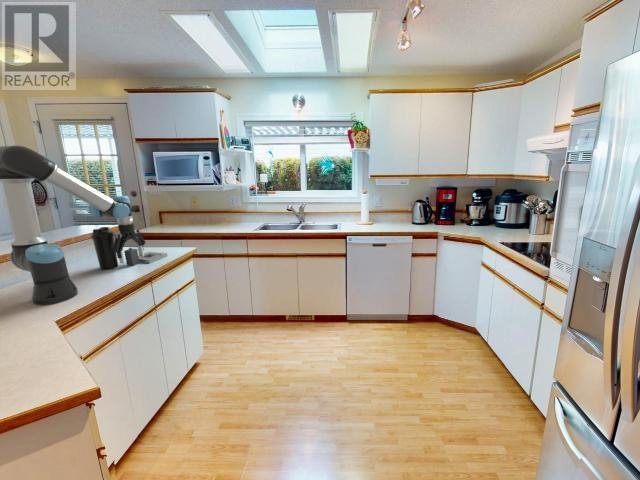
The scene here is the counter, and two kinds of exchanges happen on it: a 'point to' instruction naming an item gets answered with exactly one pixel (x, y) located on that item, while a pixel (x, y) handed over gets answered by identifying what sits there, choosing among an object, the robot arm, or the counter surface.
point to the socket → (151, 257)
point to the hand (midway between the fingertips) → (132, 259)
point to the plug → (131, 257)
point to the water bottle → (105, 248)
